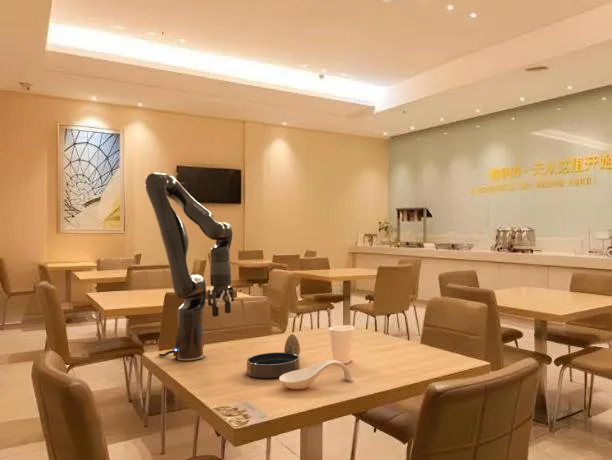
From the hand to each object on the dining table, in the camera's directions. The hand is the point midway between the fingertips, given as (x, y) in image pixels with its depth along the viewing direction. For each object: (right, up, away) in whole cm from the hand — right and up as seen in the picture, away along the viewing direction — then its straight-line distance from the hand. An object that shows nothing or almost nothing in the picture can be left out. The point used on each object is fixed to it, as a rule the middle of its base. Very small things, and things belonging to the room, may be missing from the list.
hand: (221, 314), depth 206 cm
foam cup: (+47, -18, -1) cm, 50 cm away
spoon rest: (+43, -18, -31) cm, 56 cm away
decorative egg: (+27, -18, +2) cm, 33 cm away
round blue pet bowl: (+25, -18, -16) cm, 35 cm away
